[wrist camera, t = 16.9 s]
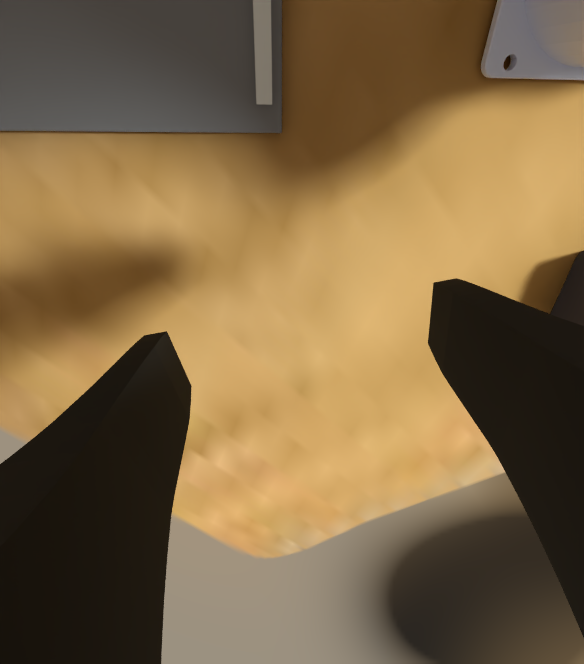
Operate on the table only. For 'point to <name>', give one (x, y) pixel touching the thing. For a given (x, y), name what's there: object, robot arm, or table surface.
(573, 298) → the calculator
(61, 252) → the table surface
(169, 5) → the track
